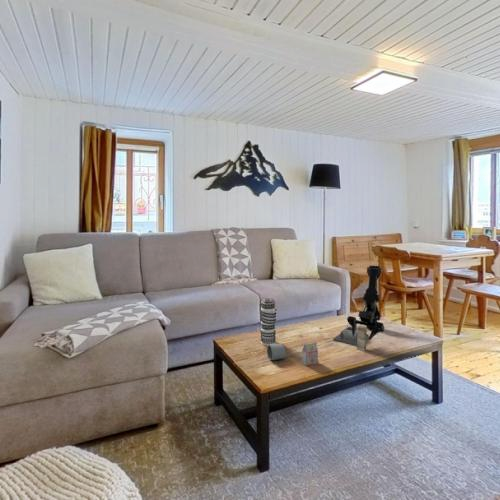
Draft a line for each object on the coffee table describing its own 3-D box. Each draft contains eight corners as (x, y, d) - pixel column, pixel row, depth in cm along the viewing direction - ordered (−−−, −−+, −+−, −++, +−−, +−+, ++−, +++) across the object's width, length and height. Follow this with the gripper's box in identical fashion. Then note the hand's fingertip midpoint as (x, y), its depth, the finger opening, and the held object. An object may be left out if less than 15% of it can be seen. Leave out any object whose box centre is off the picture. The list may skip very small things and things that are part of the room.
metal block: (359, 347, 178) (360, 324, 177) (366, 348, 176) (366, 326, 175) (356, 349, 176) (357, 326, 174) (363, 351, 173) (364, 328, 172)
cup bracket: (345, 330, 202) (345, 322, 201) (368, 336, 193) (369, 327, 192) (333, 340, 188) (333, 331, 187) (357, 346, 179) (358, 336, 178)
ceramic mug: (287, 360, 163) (287, 345, 162) (272, 363, 160) (272, 348, 160) (278, 352, 173) (278, 338, 172) (264, 354, 170) (264, 340, 170)
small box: (301, 362, 161) (302, 343, 160) (313, 360, 164) (313, 340, 162) (305, 365, 158) (306, 346, 156) (317, 363, 160) (318, 343, 159)
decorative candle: (262, 338, 191) (262, 296, 188) (278, 340, 188) (278, 297, 185) (257, 344, 182) (257, 300, 179) (273, 346, 179) (274, 302, 176)
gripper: (348, 301, 182) (340, 326, 174) (383, 308, 170) (376, 334, 163) (353, 312, 189) (345, 336, 182) (387, 318, 177) (380, 344, 170)
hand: (361, 337), depth 174 cm, fingers open, 8 cm apart
